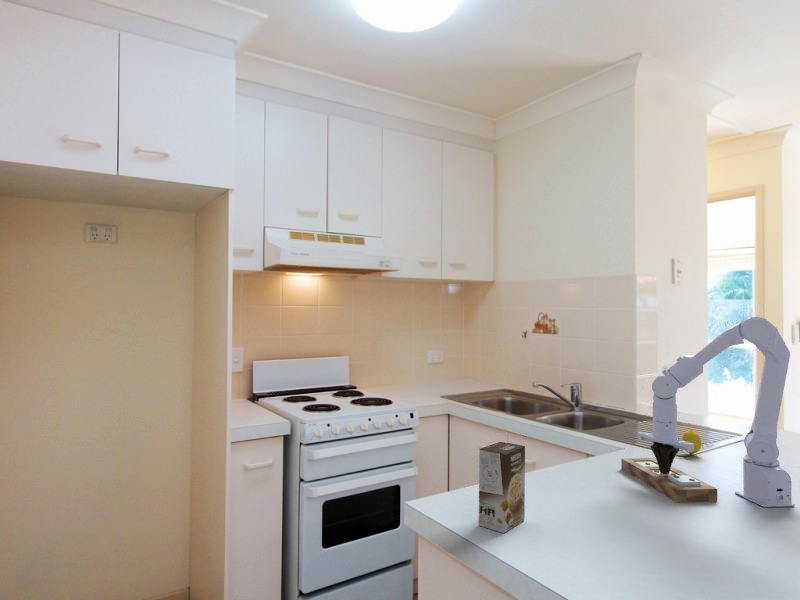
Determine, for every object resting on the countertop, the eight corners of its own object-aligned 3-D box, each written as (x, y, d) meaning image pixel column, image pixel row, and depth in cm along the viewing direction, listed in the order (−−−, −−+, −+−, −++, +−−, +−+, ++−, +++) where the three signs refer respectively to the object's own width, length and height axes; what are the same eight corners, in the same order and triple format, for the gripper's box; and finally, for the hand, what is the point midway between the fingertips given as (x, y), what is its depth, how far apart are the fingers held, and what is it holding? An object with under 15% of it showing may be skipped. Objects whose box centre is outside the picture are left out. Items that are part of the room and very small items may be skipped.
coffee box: (505, 534, 104) (505, 454, 104) (477, 525, 108) (478, 448, 108) (525, 520, 111) (525, 445, 111) (499, 512, 115) (499, 440, 115)
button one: (661, 477, 141) (661, 465, 141) (644, 477, 141) (644, 466, 141) (651, 471, 146) (651, 460, 146) (634, 471, 146) (634, 461, 146)
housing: (717, 501, 123) (717, 488, 123) (677, 502, 122) (677, 489, 122) (654, 468, 149) (654, 458, 149) (621, 469, 148) (621, 458, 148)
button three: (680, 487, 133) (679, 475, 133) (661, 487, 133) (661, 475, 133) (668, 480, 138) (668, 469, 138) (650, 481, 138) (650, 469, 138)
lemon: (704, 457, 160) (704, 432, 160) (684, 456, 161) (684, 431, 162) (697, 453, 166) (697, 428, 166) (679, 452, 167) (678, 427, 167)
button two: (700, 493, 125) (700, 480, 125) (680, 493, 125) (680, 481, 125) (687, 486, 130) (687, 474, 130) (668, 486, 130) (668, 474, 130)
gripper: (701, 424, 132) (701, 478, 131) (649, 414, 144) (649, 463, 144) (684, 427, 128) (684, 482, 128) (632, 417, 141) (632, 467, 140)
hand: (664, 473), depth 136 cm, fingers closed, pressing on button three
